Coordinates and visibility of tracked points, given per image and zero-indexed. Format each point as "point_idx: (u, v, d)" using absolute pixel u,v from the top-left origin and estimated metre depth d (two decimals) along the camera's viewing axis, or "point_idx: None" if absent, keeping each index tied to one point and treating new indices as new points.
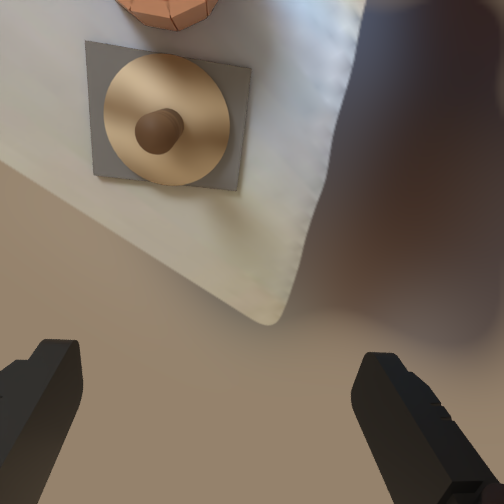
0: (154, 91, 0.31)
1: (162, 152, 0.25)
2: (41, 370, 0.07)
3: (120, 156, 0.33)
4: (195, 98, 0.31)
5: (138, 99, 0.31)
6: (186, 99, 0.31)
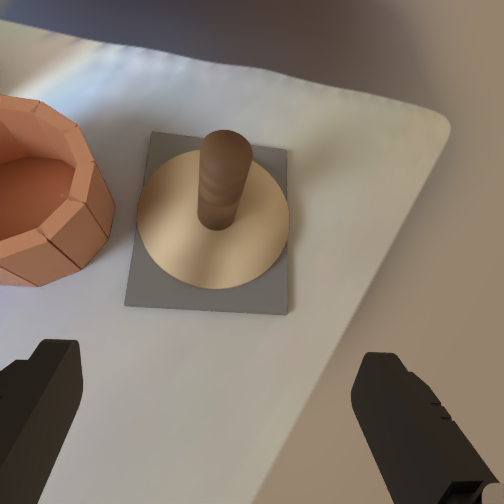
0: (178, 225, 0.25)
1: (249, 146, 0.19)
2: (41, 370, 0.07)
3: (259, 272, 0.25)
4: (184, 182, 0.26)
5: (189, 244, 0.25)
6: (186, 191, 0.26)
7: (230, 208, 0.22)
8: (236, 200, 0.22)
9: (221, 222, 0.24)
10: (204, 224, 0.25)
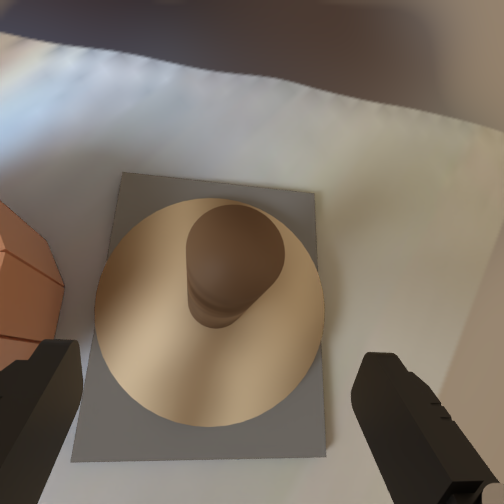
0: (158, 323, 0.16)
1: (277, 236, 0.10)
2: (41, 370, 0.07)
3: (283, 394, 0.16)
4: (169, 252, 0.18)
5: (174, 354, 0.16)
6: (171, 267, 0.17)
7: (239, 315, 0.14)
8: None
9: (224, 324, 0.15)
10: (199, 321, 0.16)
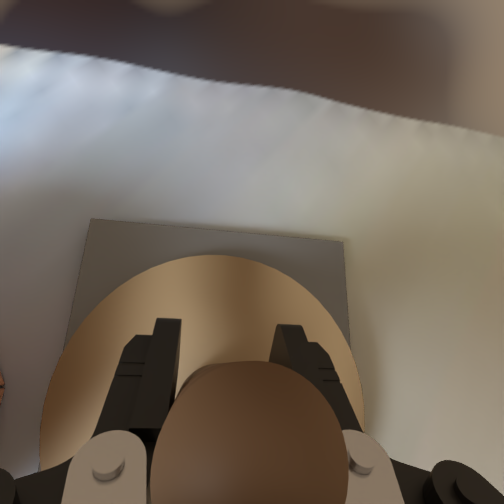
0: None
1: (332, 424, 0.05)
2: (166, 341, 0.08)
3: None
4: None
5: None
6: None
7: None
8: None
9: None
10: None
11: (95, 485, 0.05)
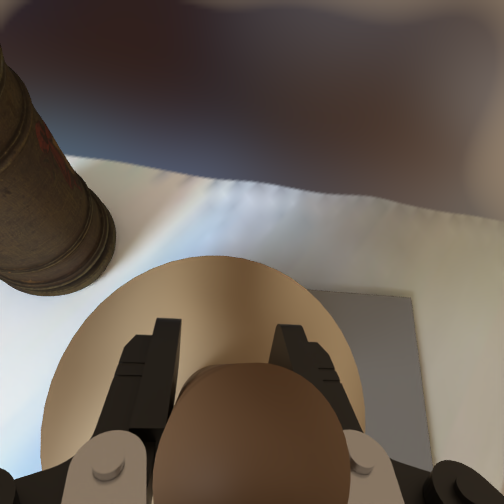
0: None
1: (334, 426, 0.05)
2: (166, 341, 0.08)
3: None
4: None
5: None
6: None
7: None
8: None
9: None
10: None
11: (95, 485, 0.05)
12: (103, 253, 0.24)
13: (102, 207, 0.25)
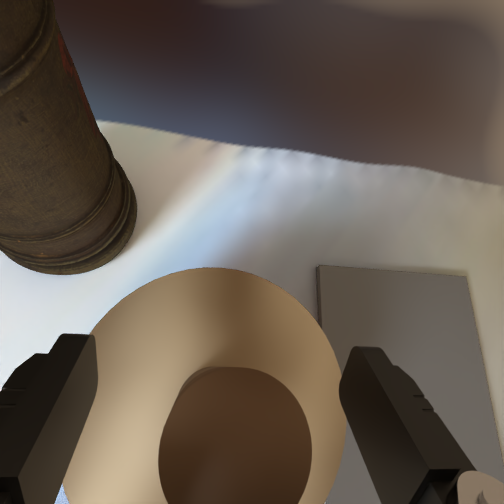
0: (139, 441, 0.13)
1: (300, 417, 0.07)
2: (62, 363, 0.07)
3: None
4: (153, 341, 0.14)
5: (158, 483, 0.13)
6: (156, 362, 0.14)
7: None
8: None
9: None
10: None
11: None
12: (124, 225, 0.21)
13: (122, 172, 0.21)
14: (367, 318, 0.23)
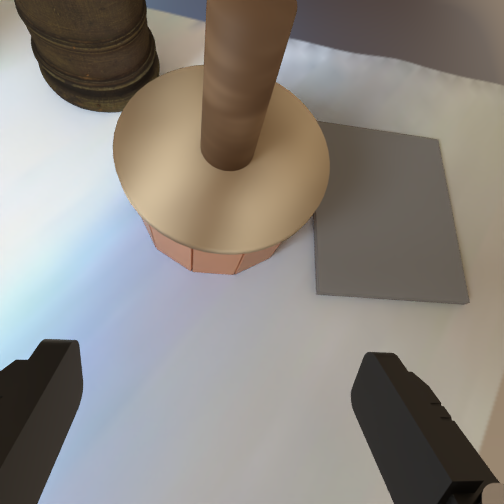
0: (173, 162, 0.17)
1: None
2: (41, 370, 0.07)
3: (290, 229, 0.17)
4: (182, 105, 0.19)
5: (188, 188, 0.17)
6: (184, 117, 0.18)
7: (251, 123, 0.14)
8: (262, 107, 0.14)
9: (236, 153, 0.16)
10: (211, 159, 0.17)
11: None
12: (150, 73, 0.25)
13: (149, 29, 0.26)
14: (352, 161, 0.27)
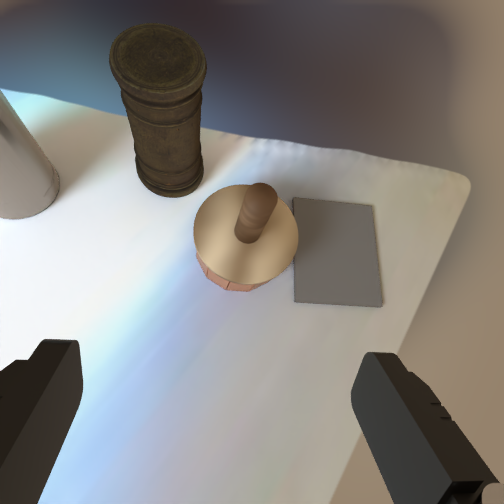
0: (221, 240, 0.36)
1: (275, 193, 0.30)
2: (41, 370, 0.07)
3: (278, 272, 0.36)
4: (224, 209, 0.37)
5: (229, 253, 0.36)
6: (226, 216, 0.37)
7: (259, 229, 0.33)
8: (264, 225, 0.33)
9: (252, 238, 0.35)
10: (240, 239, 0.36)
11: None
12: (199, 174, 0.44)
13: None
14: (317, 222, 0.46)
